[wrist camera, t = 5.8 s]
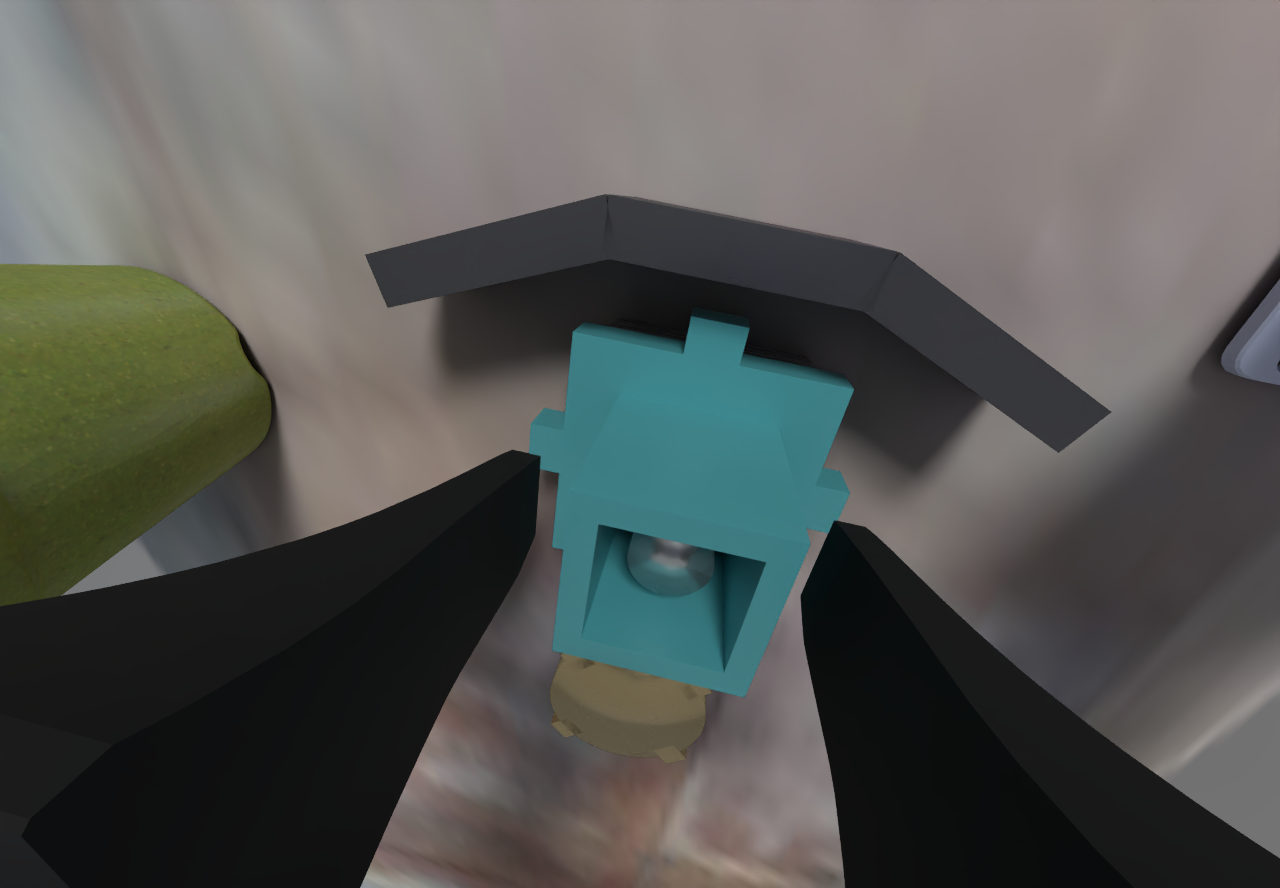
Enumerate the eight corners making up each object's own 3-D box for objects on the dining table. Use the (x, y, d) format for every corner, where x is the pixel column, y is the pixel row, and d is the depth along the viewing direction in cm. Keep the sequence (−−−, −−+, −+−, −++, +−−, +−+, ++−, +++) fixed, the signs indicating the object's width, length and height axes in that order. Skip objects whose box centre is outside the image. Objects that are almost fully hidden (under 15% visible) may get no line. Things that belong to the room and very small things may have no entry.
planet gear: (893, 346, 10) (1027, 454, 6) (785, 598, 14) (817, 784, 9) (554, 279, 11) (437, 332, 6) (534, 540, 14) (451, 691, 10)
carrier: (1061, 281, 10) (1331, 341, 6) (820, 702, 17) (856, 877, 12) (443, 159, 11) (252, 126, 6) (453, 610, 18) (365, 746, 13)
